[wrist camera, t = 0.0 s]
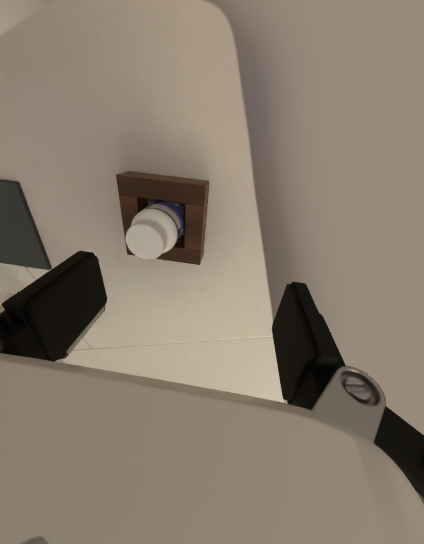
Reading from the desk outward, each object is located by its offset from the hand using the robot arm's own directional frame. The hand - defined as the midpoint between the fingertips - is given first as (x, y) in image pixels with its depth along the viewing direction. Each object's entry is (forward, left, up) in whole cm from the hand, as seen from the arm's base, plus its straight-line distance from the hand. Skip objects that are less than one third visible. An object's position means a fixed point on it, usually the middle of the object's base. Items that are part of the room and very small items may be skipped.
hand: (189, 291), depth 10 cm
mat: (+8, -35, -19) cm, 41 cm away
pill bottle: (+3, -7, -19) cm, 21 cm away
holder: (+3, -7, -19) cm, 21 cm away
